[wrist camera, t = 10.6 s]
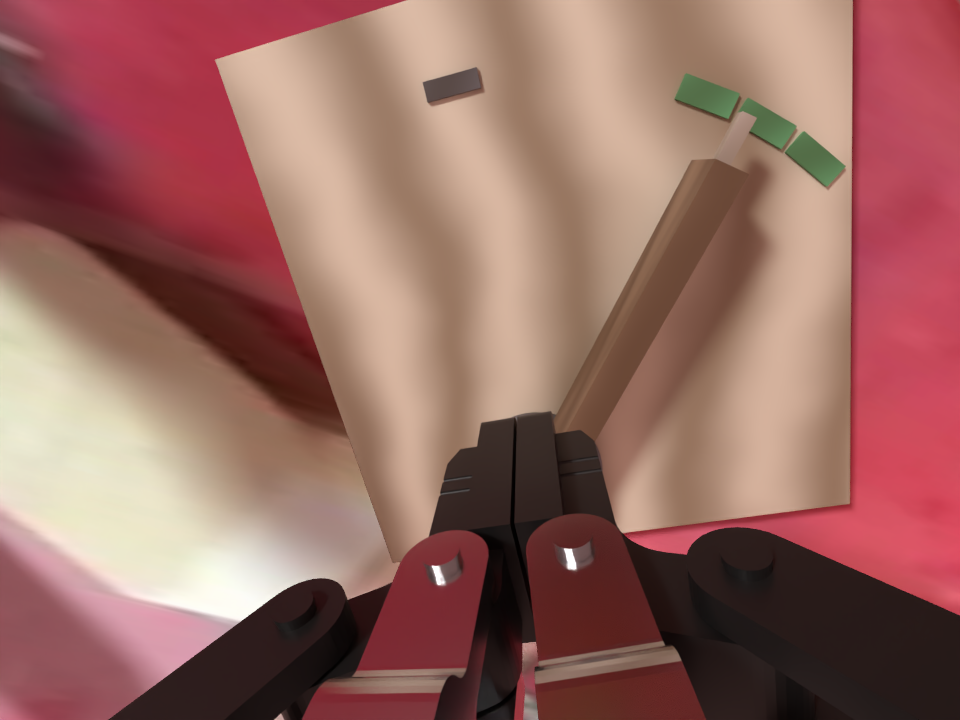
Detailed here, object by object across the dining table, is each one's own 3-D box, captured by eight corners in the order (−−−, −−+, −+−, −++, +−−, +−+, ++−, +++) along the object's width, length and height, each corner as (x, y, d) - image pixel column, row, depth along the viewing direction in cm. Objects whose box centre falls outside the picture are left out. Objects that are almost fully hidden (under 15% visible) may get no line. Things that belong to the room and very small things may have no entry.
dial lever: (485, 490, 29) (480, 527, 26) (683, 96, 21) (708, 85, 18) (557, 519, 29) (560, 559, 26) (777, 140, 22) (817, 136, 19)
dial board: (398, 545, 33) (392, 564, 32) (233, 66, 24) (212, 58, 23) (834, 487, 29) (852, 506, 27) (830, -117, 20) (856, -141, 18)
